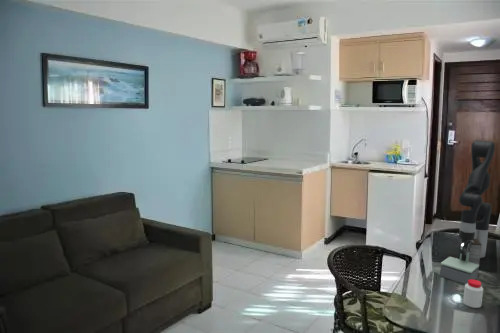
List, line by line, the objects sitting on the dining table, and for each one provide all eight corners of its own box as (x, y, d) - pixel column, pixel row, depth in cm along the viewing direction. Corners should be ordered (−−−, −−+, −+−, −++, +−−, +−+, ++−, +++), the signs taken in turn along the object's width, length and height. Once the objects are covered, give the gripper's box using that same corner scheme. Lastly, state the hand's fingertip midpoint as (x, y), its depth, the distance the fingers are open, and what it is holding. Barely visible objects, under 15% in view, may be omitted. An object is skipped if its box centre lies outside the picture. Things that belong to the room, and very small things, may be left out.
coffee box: (461, 263, 244) (464, 237, 241) (473, 265, 243) (476, 238, 240) (466, 270, 235) (469, 243, 232) (478, 271, 234) (482, 244, 231)
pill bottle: (459, 299, 202) (462, 278, 200) (474, 299, 203) (477, 278, 201) (469, 308, 195) (471, 285, 193) (484, 307, 195) (487, 285, 193)
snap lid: (449, 259, 235) (450, 247, 234) (479, 267, 224) (480, 256, 223) (440, 265, 227) (441, 254, 225) (471, 274, 216) (472, 262, 215)
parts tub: (448, 269, 236) (449, 259, 235) (477, 278, 225) (478, 267, 224) (439, 276, 228) (440, 265, 226) (469, 285, 217) (470, 274, 216)
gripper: (464, 225, 233) (461, 254, 236) (455, 230, 224) (452, 261, 227) (479, 228, 228) (475, 258, 231) (470, 234, 218) (466, 265, 222)
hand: (463, 260), depth 229 cm, fingers closed on snap lid, 1 cm apart
